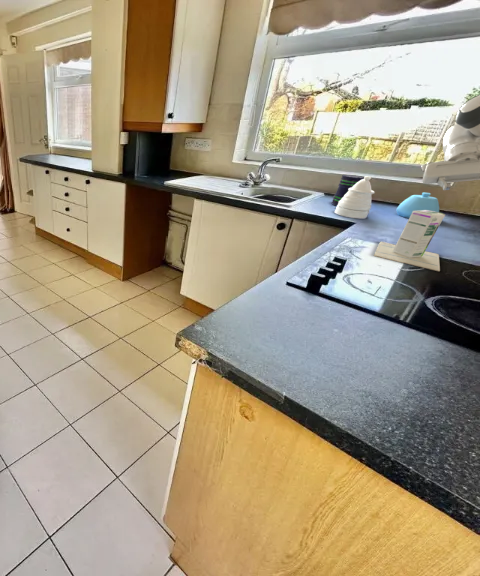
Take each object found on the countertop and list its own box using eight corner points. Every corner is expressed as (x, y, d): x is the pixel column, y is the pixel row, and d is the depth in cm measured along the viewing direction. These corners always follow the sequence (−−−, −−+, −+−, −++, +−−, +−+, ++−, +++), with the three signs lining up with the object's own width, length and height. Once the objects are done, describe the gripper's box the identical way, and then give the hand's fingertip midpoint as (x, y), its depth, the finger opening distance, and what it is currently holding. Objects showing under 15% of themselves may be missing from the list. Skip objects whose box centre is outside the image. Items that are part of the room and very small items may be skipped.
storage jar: (326, 202, 176) (337, 174, 169) (341, 202, 178) (353, 174, 170) (341, 207, 167) (354, 177, 160) (357, 207, 169) (370, 178, 162)
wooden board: (438, 254, 108) (438, 254, 108) (439, 271, 95) (440, 270, 95) (380, 242, 118) (380, 241, 118) (373, 255, 105) (374, 254, 105)
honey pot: (369, 220, 146) (388, 179, 137) (336, 215, 150) (353, 176, 142) (362, 213, 156) (380, 175, 147) (332, 209, 161) (347, 172, 152)
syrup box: (410, 258, 103) (435, 214, 96) (391, 251, 108) (413, 209, 101) (422, 257, 105) (447, 214, 98) (402, 250, 110) (425, 209, 103)
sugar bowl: (415, 213, 162) (428, 190, 156) (443, 222, 149) (458, 197, 143) (386, 212, 162) (398, 188, 156) (412, 220, 149) (425, 195, 143)
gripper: (423, 156, 112) (425, 183, 107) (514, 145, 100) (522, 174, 95) (418, 171, 117) (420, 197, 111) (505, 162, 105) (512, 191, 99)
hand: (468, 186), depth 103 cm, fingers open, 8 cm apart
